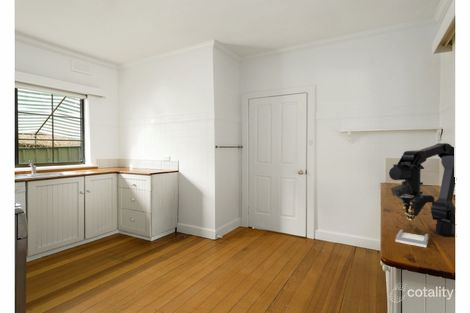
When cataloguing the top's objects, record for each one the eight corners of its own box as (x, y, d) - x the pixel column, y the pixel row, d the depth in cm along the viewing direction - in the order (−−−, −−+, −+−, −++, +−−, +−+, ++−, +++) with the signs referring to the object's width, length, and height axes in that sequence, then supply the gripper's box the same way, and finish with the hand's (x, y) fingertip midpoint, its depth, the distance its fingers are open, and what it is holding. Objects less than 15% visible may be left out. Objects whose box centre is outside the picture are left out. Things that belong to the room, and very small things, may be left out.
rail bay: (400, 233, 124) (400, 229, 124) (428, 238, 117) (428, 233, 117) (395, 241, 114) (395, 236, 114) (426, 247, 107) (426, 242, 107)
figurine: (401, 216, 119) (403, 200, 117) (411, 216, 119) (414, 199, 117) (408, 221, 115) (410, 204, 112) (419, 221, 115) (421, 204, 113)
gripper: (382, 177, 125) (381, 209, 125) (408, 182, 106) (407, 220, 106) (405, 177, 125) (404, 209, 125) (435, 182, 106) (435, 220, 106)
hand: (411, 214), depth 116 cm, fingers closed on figurine, 4 cm apart
